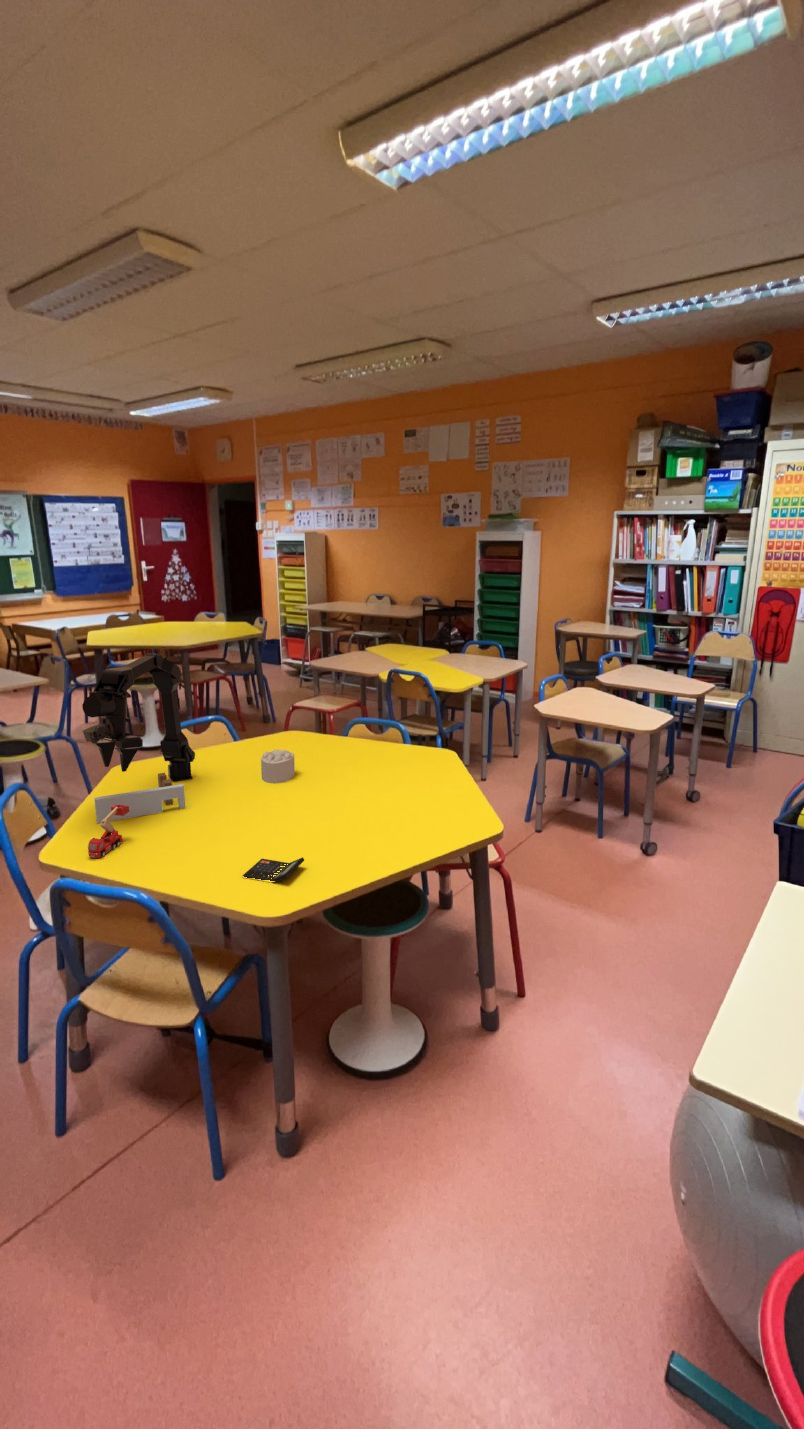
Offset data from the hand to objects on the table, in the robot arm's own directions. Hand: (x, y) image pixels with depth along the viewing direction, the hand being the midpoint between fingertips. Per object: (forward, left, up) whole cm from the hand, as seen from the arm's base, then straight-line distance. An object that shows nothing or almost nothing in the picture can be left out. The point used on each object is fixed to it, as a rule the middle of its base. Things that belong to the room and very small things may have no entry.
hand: (115, 769), depth 185 cm
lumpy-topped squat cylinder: (-52, -11, -14) cm, 55 cm away
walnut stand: (-14, -7, -14) cm, 21 cm away
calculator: (-27, +54, -15) cm, 62 cm away
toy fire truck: (+5, +21, -14) cm, 26 cm away
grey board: (-6, +2, -14) cm, 15 cm away
